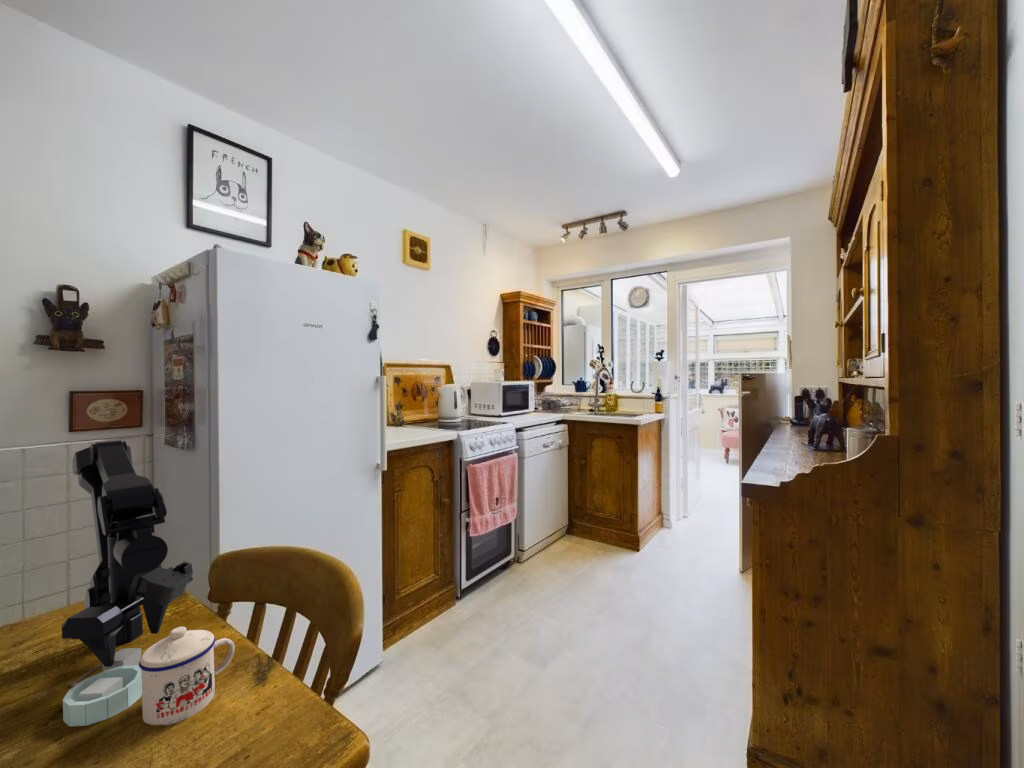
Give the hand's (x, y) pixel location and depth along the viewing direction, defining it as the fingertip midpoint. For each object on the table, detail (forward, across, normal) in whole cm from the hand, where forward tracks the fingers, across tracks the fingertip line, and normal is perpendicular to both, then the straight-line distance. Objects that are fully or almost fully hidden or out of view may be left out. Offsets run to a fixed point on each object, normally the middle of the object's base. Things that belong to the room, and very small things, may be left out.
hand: (133, 648), depth 74 cm
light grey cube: (+3, -10, -4) cm, 11 cm away
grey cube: (+3, -2, 0) cm, 4 cm away
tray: (+4, -2, +2) cm, 4 cm away
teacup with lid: (+4, -8, -16) cm, 18 cm away
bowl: (+3, -9, -4) cm, 10 cm away
